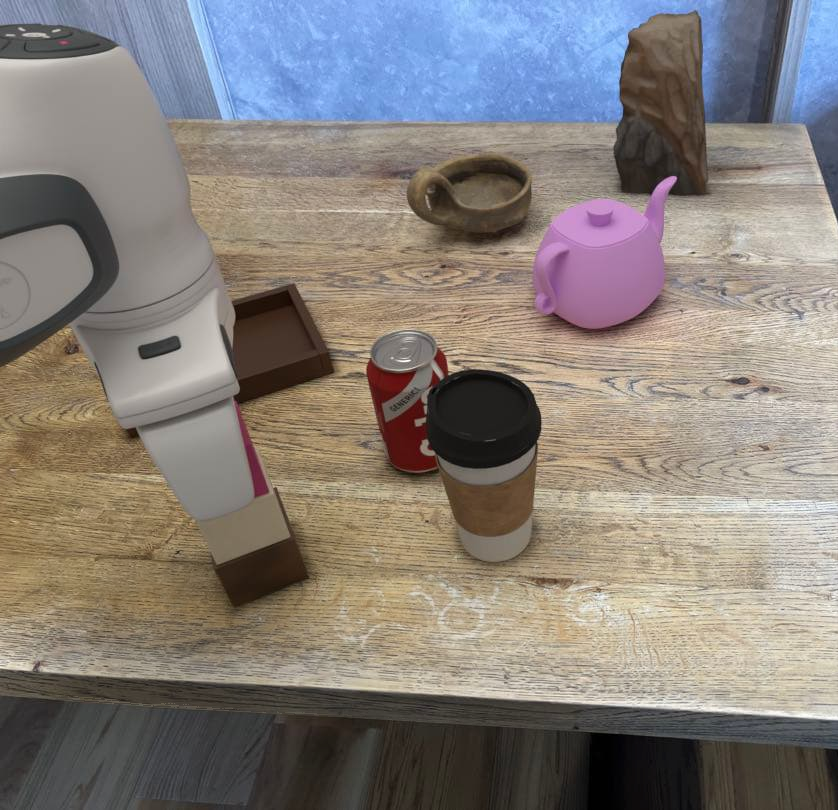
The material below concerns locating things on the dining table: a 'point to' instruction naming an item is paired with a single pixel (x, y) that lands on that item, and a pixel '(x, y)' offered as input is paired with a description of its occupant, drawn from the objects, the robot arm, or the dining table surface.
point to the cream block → (246, 526)
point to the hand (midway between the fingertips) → (221, 467)
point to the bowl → (472, 192)
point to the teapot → (602, 261)
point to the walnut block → (263, 569)
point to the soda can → (405, 394)
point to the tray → (274, 344)
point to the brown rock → (663, 107)
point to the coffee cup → (486, 458)
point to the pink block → (252, 459)
